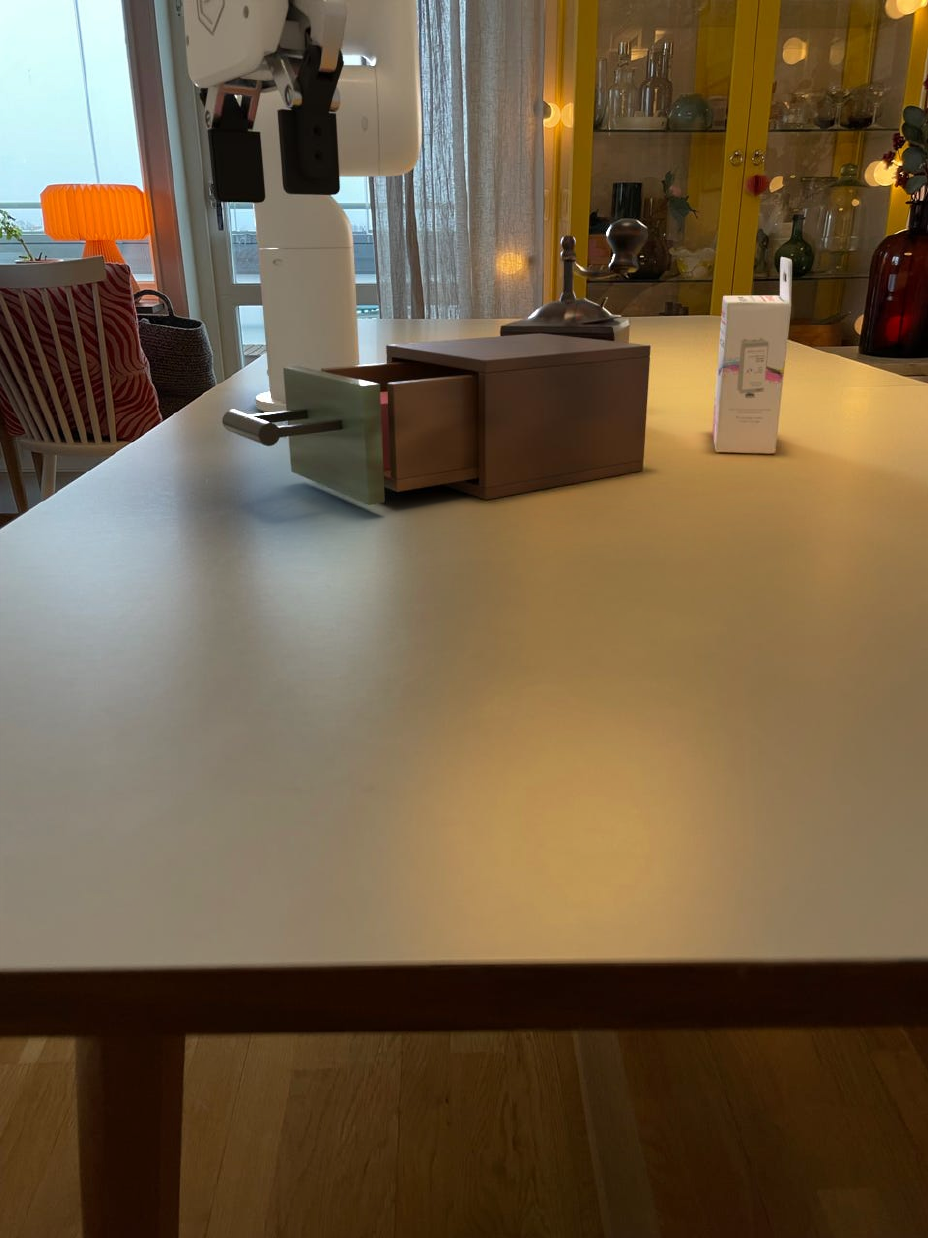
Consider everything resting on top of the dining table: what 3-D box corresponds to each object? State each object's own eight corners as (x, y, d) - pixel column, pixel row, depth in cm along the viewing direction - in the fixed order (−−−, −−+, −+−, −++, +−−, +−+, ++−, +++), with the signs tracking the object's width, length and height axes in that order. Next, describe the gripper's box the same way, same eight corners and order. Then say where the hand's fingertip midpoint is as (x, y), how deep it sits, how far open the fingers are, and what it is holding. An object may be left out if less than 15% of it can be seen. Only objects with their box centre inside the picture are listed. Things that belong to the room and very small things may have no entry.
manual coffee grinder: (618, 438, 82) (630, 214, 75) (496, 432, 85) (497, 216, 78) (641, 410, 95) (652, 218, 89) (535, 405, 99) (538, 220, 92)
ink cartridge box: (708, 433, 84) (724, 256, 78) (766, 434, 83) (786, 256, 77) (712, 453, 76) (730, 258, 70) (776, 455, 75) (799, 258, 69)
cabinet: (485, 500, 63) (485, 360, 59) (390, 466, 72) (385, 344, 69) (643, 470, 70) (651, 345, 67) (538, 443, 80) (540, 333, 77)
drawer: (284, 519, 55) (273, 394, 53) (214, 483, 64) (202, 373, 61) (537, 475, 65) (540, 367, 63) (447, 448, 74) (446, 353, 71)
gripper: (122, -127, 53) (161, 203, 59) (245, -253, 40) (278, 188, 46) (246, -101, 57) (270, 205, 63) (395, -208, 44) (407, 192, 50)
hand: (274, 198), depth 55 cm, fingers open, 9 cm apart
